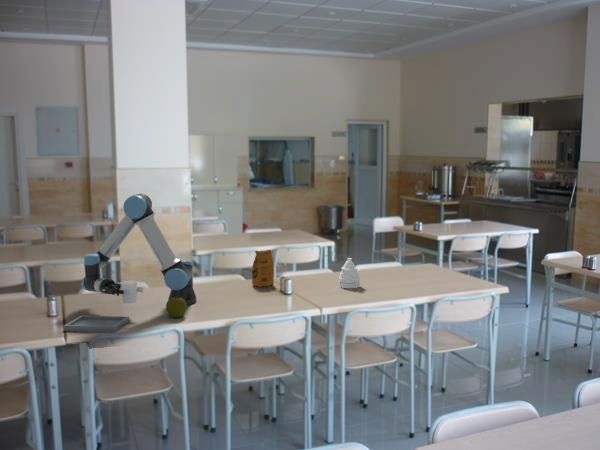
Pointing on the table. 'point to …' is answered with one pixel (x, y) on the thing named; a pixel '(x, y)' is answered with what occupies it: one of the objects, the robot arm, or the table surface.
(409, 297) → the table surface
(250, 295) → the table surface
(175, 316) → the apple
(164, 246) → the robot arm
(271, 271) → the coffee package
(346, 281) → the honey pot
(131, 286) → the white cup
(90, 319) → the tray
